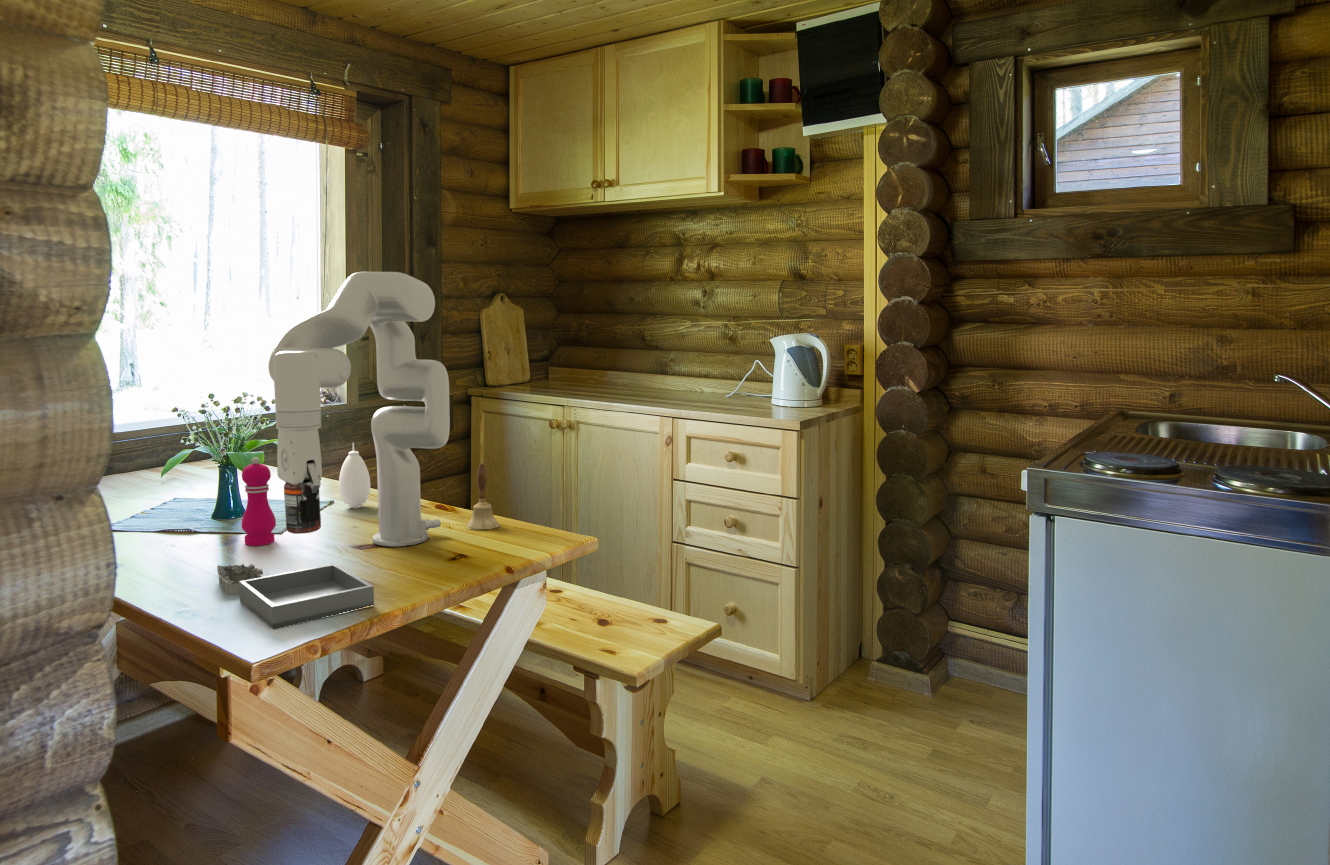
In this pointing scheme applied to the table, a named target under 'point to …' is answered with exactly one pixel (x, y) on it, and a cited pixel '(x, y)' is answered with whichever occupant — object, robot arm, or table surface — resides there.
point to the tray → (305, 595)
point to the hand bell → (482, 505)
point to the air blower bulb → (354, 480)
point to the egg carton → (236, 576)
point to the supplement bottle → (297, 511)
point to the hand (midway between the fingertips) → (303, 516)
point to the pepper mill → (257, 505)
